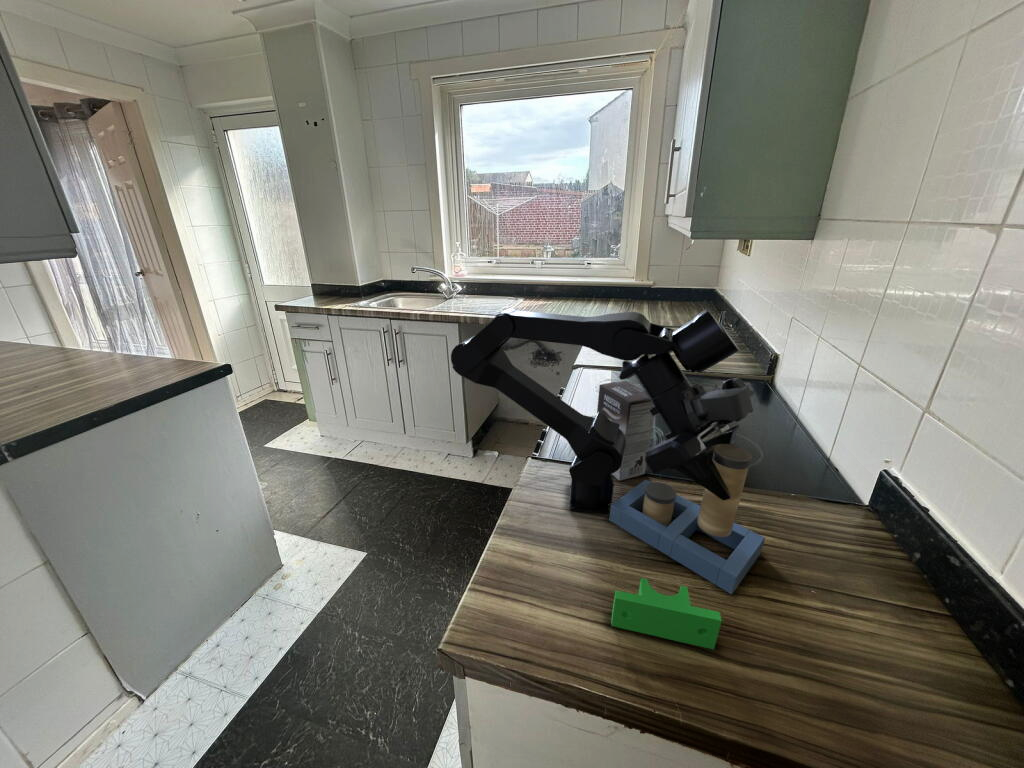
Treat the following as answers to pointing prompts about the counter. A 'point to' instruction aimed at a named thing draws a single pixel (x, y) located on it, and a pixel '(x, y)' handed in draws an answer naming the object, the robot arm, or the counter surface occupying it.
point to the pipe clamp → (666, 616)
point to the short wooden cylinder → (659, 502)
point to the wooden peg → (733, 470)
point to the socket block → (678, 544)
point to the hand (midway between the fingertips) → (734, 491)
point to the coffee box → (628, 423)
